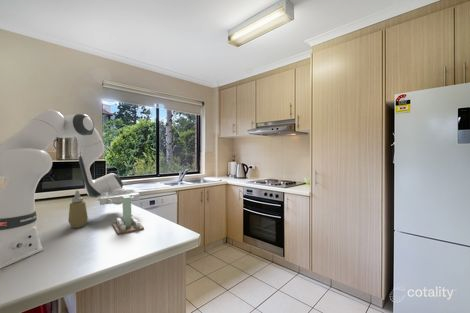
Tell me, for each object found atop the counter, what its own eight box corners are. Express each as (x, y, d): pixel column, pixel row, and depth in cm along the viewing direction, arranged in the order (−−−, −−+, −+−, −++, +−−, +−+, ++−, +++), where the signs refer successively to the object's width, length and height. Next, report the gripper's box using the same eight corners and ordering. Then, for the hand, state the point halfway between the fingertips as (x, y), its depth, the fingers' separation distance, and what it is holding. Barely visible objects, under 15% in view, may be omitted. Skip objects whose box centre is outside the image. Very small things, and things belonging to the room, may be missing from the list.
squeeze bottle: (64, 228, 109) (63, 192, 108) (80, 223, 116) (79, 189, 116) (75, 229, 106) (74, 192, 105) (91, 224, 113) (90, 189, 113)
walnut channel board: (143, 229, 104) (143, 222, 104) (118, 235, 98) (117, 227, 98) (135, 220, 119) (135, 214, 119) (112, 224, 112) (112, 217, 112)
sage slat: (131, 225, 107) (130, 197, 107) (125, 227, 106) (124, 198, 105) (129, 223, 111) (128, 195, 111) (123, 224, 110) (122, 196, 109)
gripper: (97, 193, 123) (99, 197, 112) (136, 189, 135) (142, 192, 124) (97, 204, 123) (100, 209, 112) (136, 199, 135) (142, 203, 124)
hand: (122, 200), depth 118 cm, fingers open, 8 cm apart
